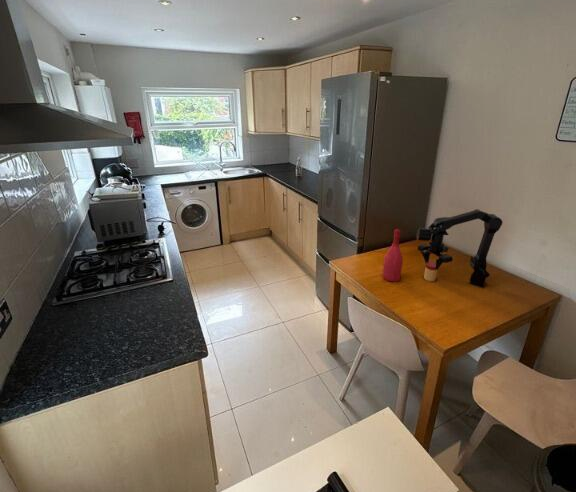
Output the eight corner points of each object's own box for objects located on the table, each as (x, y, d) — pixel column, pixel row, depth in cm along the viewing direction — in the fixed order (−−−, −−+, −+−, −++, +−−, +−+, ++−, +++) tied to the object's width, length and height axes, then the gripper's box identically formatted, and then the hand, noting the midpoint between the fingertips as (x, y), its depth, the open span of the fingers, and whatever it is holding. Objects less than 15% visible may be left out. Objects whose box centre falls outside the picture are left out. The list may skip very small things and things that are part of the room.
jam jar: (436, 278, 173) (439, 264, 170) (433, 282, 168) (436, 268, 165) (425, 274, 176) (428, 261, 173) (422, 278, 172) (424, 265, 169)
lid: (435, 264, 172) (436, 261, 172) (440, 270, 166) (440, 267, 166) (423, 264, 173) (424, 261, 172) (427, 269, 167) (428, 266, 166)
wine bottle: (402, 282, 168) (410, 232, 157) (384, 282, 168) (391, 232, 157) (396, 273, 177) (403, 226, 166) (380, 273, 177) (386, 226, 167)
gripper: (462, 245, 159) (456, 271, 165) (433, 233, 175) (428, 257, 181) (447, 248, 155) (442, 275, 160) (419, 236, 171) (414, 260, 176)
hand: (431, 266), depth 169 cm, fingers closed on lid, 6 cm apart
